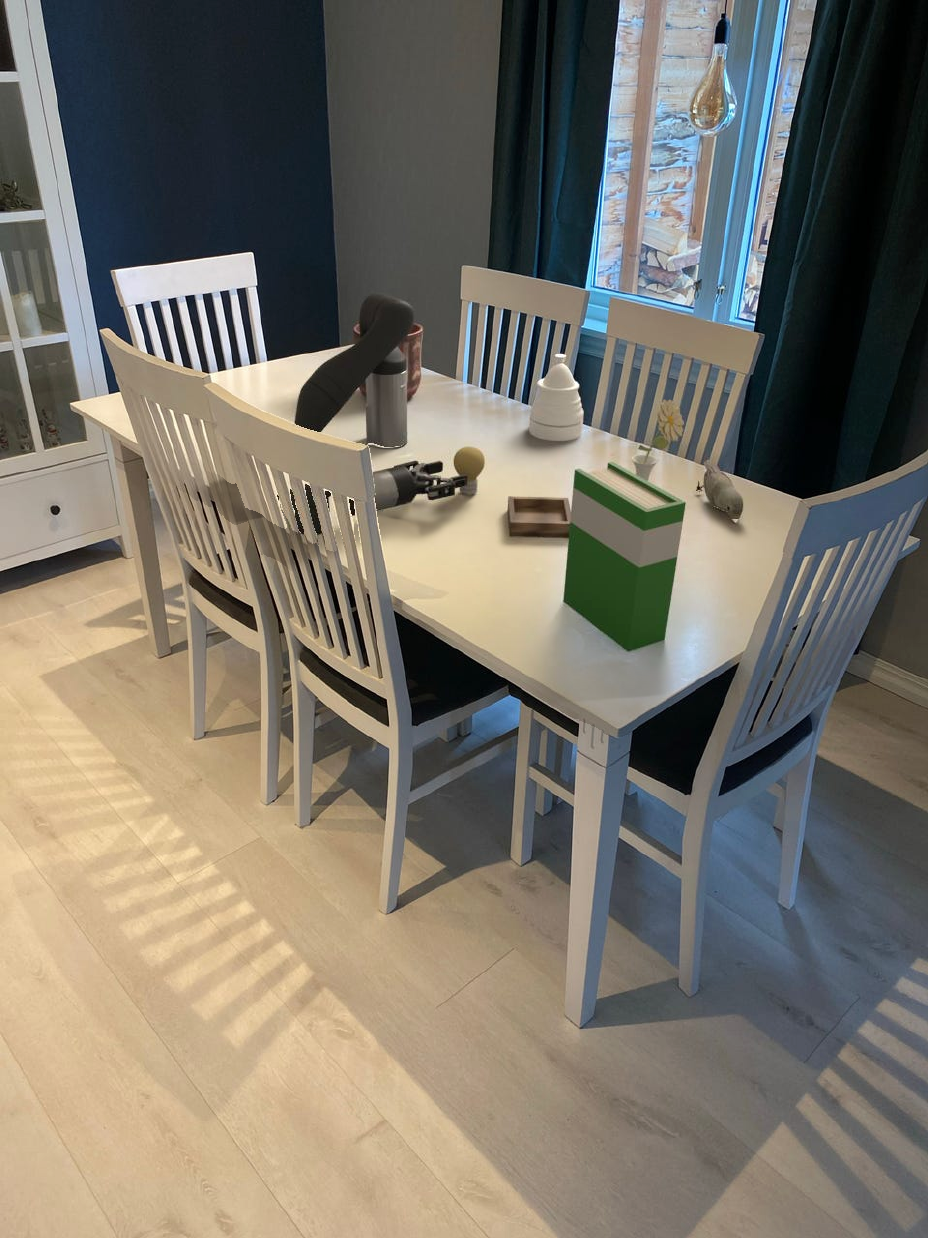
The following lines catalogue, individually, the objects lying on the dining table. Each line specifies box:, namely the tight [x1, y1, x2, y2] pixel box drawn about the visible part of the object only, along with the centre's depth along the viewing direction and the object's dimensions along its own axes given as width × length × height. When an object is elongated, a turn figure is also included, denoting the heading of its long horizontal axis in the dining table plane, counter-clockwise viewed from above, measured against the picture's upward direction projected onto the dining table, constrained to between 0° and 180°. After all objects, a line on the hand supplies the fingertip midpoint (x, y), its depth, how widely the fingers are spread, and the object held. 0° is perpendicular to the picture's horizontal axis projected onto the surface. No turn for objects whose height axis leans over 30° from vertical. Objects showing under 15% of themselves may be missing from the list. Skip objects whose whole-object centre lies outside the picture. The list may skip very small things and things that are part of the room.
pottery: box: [352, 322, 424, 401], centre depth 249 cm, size 18×18×18 cm
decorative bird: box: [695, 459, 744, 520], centre depth 197 cm, size 5×16×8 cm, turn 13°
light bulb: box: [453, 446, 486, 496], centre depth 199 cm, size 6×6×10 cm
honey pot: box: [528, 353, 585, 442], centre depth 230 cm, size 13×13×18 cm
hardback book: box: [562, 461, 687, 653], centre depth 153 cm, size 18×7×24 cm, turn 30°
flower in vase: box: [631, 399, 685, 482], centre depth 185 cm, size 13×11×25 cm
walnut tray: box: [507, 496, 571, 539], centre depth 189 cm, size 12×12×3 cm
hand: (453, 472), depth 196 cm, fingers open, 8 cm apart
